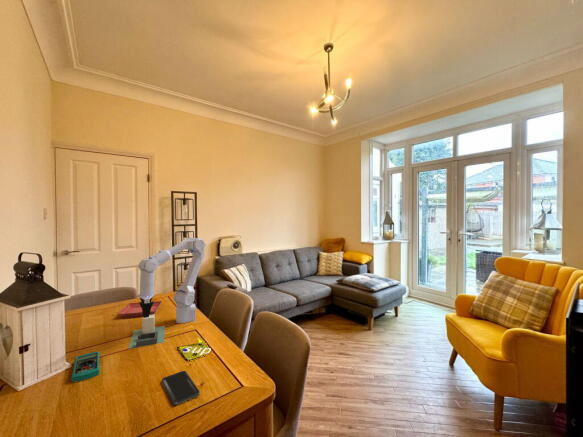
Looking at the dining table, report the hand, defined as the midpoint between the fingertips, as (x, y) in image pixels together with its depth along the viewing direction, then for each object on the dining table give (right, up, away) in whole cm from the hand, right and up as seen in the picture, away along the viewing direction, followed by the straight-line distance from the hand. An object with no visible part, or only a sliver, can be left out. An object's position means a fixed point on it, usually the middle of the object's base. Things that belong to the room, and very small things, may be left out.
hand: (146, 314), depth 115 cm
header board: (+3, -10, -3) cm, 10 cm away
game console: (+26, -11, -10) cm, 30 cm away
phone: (+31, -11, -35) cm, 48 cm away
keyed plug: (0, -9, +2) cm, 9 cm away
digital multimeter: (-6, -10, -26) cm, 28 cm away
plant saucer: (-19, -10, +28) cm, 35 cm away
